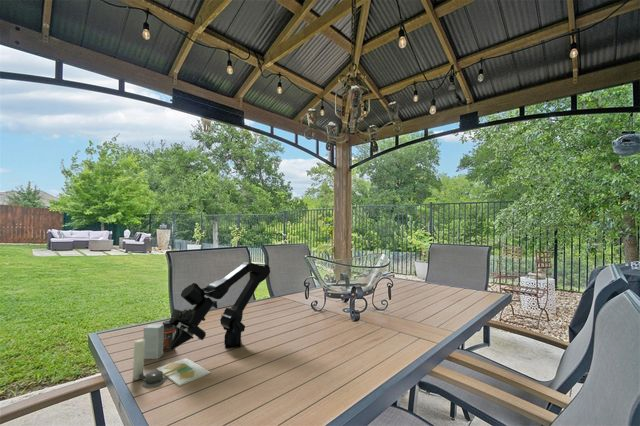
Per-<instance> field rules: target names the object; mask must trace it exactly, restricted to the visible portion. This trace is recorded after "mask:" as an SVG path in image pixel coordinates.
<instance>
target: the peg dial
mask: <svg viewBox="0 0 640 426" xmlns="http://www.w3.org/2000/svg"><path fill="white" fill-rule="evenodd" d="M143 339H144V338H141V339H137V340H135V341H133V342H134V343H133V361H132V363H133V364H132V366H133V367H132V380H137V381H138V380H145V382H146V383H147V384H154V383H157V382H160V381H161V380H162V379H163V376H164V375H166V374H169V373H171V372H174V371H176V370H179V369H182V368H185V367H186V366H187V364H185V363H184V364H182V365H180V366H178V367H176V368H173V369H170V370H168V371H165V372H162V371H157V370H154V371H153V370H152V371H150V372H148V373H147V372H144V366H145V365H144V362H145V359H144V342H145V340H143ZM164 377H165V376H164Z"/></svg>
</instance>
